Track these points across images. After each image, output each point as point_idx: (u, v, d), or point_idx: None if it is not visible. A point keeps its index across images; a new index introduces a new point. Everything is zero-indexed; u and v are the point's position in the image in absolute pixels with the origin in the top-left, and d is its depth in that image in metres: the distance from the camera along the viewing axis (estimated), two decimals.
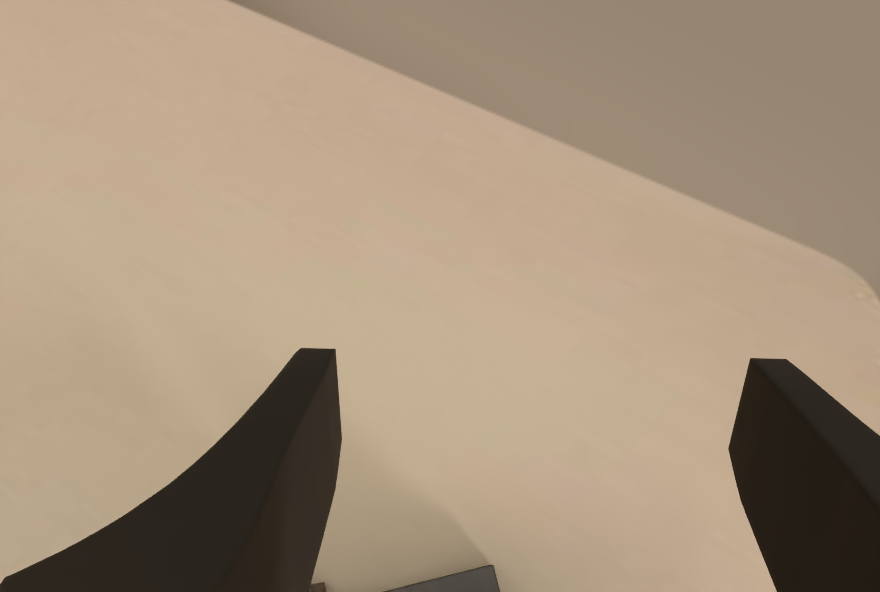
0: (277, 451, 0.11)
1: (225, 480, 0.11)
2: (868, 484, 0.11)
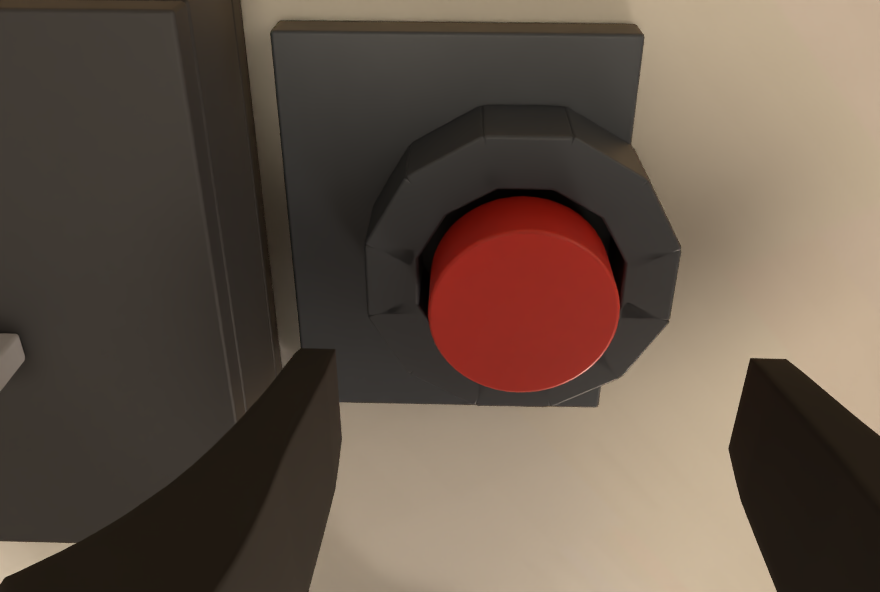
0: (277, 451, 0.11)
1: (225, 480, 0.11)
2: (868, 484, 0.11)
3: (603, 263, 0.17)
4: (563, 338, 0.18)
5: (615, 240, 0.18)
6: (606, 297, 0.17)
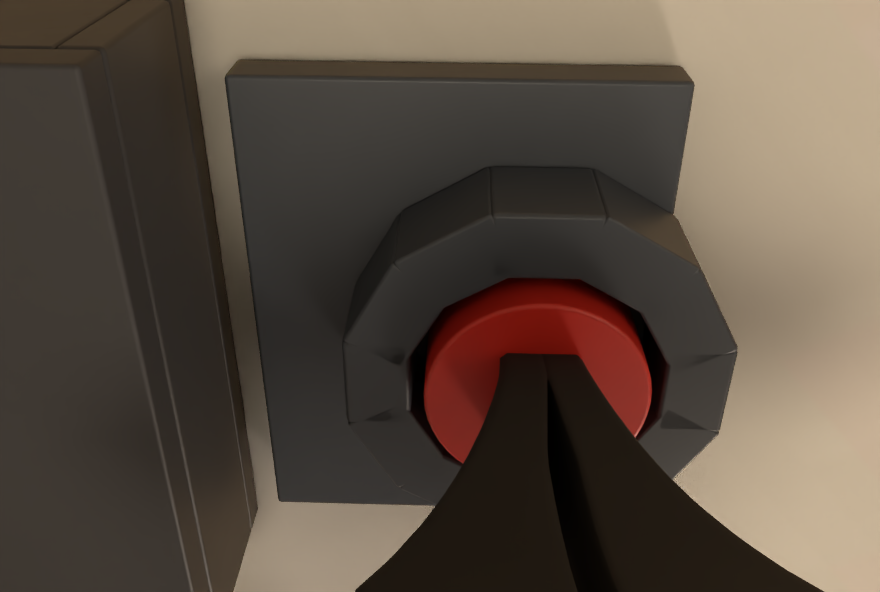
0: (540, 458, 0.11)
1: (505, 487, 0.10)
2: (590, 477, 0.11)
3: (633, 342, 0.14)
4: None
5: (656, 339, 0.15)
6: (636, 380, 0.15)
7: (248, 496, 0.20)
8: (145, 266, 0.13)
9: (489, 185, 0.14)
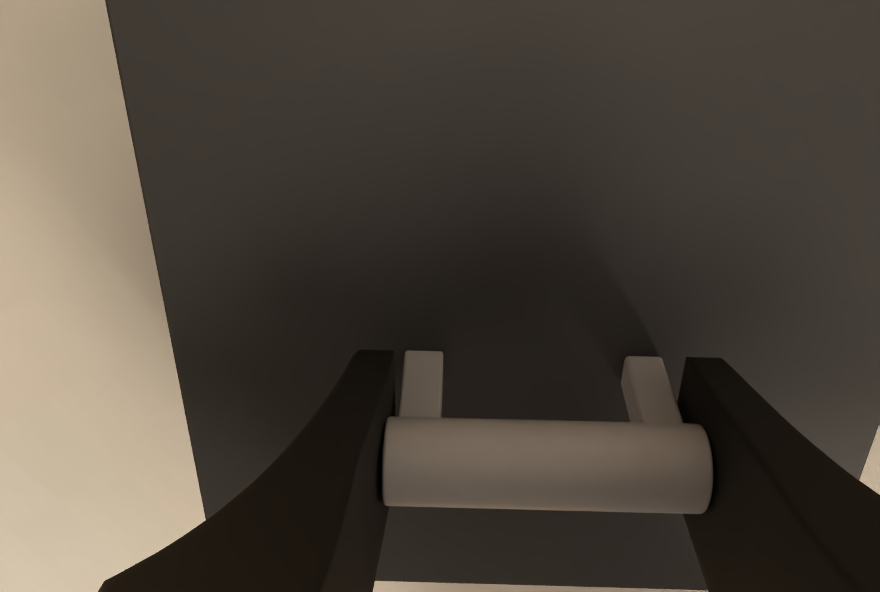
0: (352, 453, 0.11)
1: (305, 482, 0.11)
2: (782, 482, 0.11)
3: None
4: None
5: None
6: None
7: None
8: None
9: None
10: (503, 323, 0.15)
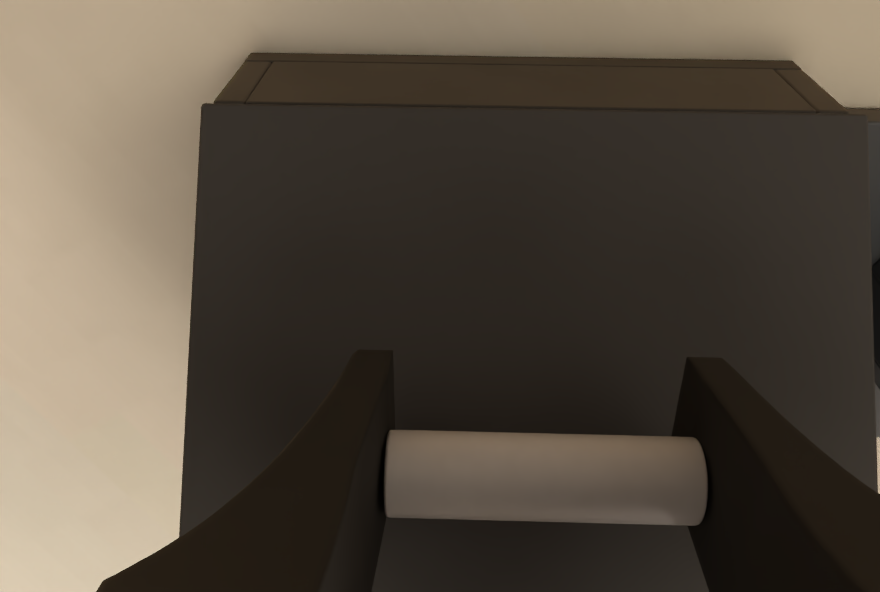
0: (351, 453, 0.11)
1: (303, 482, 0.11)
2: (783, 482, 0.11)
3: None
4: None
5: None
6: None
7: None
8: None
9: None
10: (498, 410, 0.16)
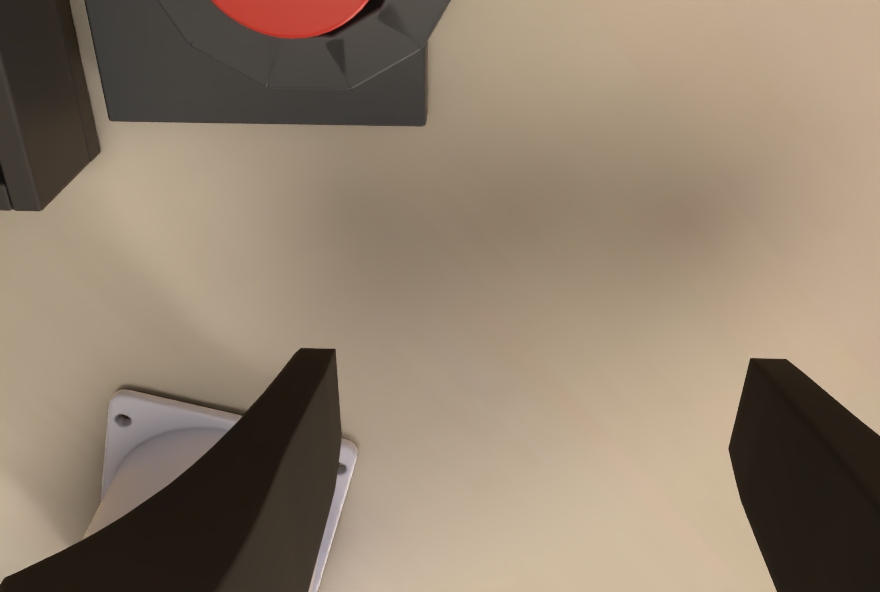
0: (277, 451, 0.11)
1: (225, 480, 0.11)
2: (868, 484, 0.11)
3: None
4: None
5: None
6: None
7: (84, 124, 0.22)
8: None
9: None
10: None
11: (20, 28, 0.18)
